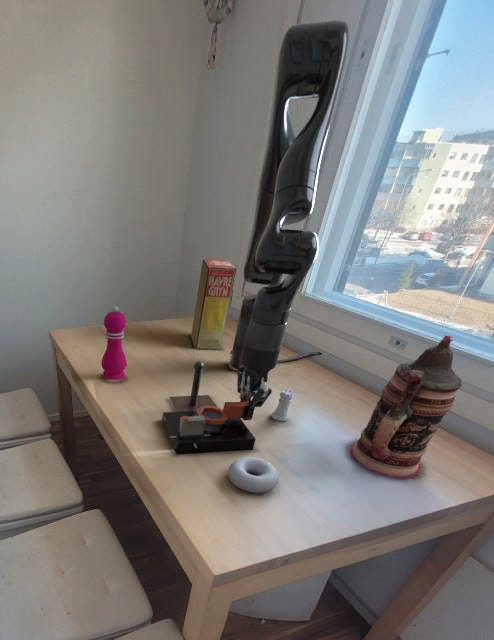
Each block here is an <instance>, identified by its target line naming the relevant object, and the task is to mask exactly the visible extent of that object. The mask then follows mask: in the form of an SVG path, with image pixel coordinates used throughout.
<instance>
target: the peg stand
mask: <svg viewBox="0 0 494 640" xmlns="http://www.w3.org/2000/svg"><path fill="white" fill-rule="evenodd" d="M204 368H205V364H204V363H203V361H200V360H199V361H195V363H194V365H193V369H194V372H193V378H192V385H191V392H190V395H177V396H169V398H170V400H171V402H172V404H173V406H174V407H175V410H176V412H181V411H196V410H197V409H199V408H200V407H201V406H215V407H217V408H218V406H217V405H216V403H215V401H213V399H212V398H211V396H210V395H209V394H200V395H199V391H200V384H201V380H202V379H201V378H202V374H203V370H204Z"/></svg>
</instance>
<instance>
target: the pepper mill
mask: <svg viewBox="0 0 494 640" xmlns="http://www.w3.org/2000/svg"><path fill="white" fill-rule="evenodd" d="M119 309H120V308H119V307H118V306H117V305H113V306H112V307H111V311H110V312H108V313H107V314H106V315H105V316H104V319H103V326H104V328H105V329H106V330H105V338H106V339H107V342H106V349H105V351H104V353H103V356H102V358H101V364H100V365H101V368H102V370H103V371H102V377H103V378H105V379H107V380H112V381H118V380H122V379H123V378H125V372H124V371H125V370H126V368H127V365H128V363H127V357H126V355H125V352H124V350H123V345H122V344H123V342H122V341H123V338H124V336H125V335H124V334H125V331H124V329H126V326H127V318H126V316H125V314H123V313H122V312H120V311H119Z"/></svg>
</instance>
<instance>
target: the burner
mask: <svg viewBox="0 0 494 640" xmlns="http://www.w3.org/2000/svg"><path fill="white" fill-rule="evenodd" d="M202 415H203V416H205V417H208V418H211V419H220V418H221V416H220V415H217V414H212V413H202ZM194 416H196V415H194ZM229 426H230V424H229V421H228V420H227V421H225V422H224V423H223V424H216V425H211V424H207V423H205V425H204V431H205V432H212V433H217V432H223V431H225V430H227V429H228V428H229Z"/></svg>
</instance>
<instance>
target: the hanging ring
mask: <svg viewBox="0 0 494 640" xmlns="http://www.w3.org/2000/svg"><path fill="white" fill-rule="evenodd" d="M245 405H246V402H240V401H225V402H224V404H223V408H220V407H218V406H217V407H215V406H201V407H200V408H199V409H197V410H196V413H195V415H196V416H203V415H202V413H203V412H215V413H217V414H220V415H221V418H220V419H211V418H208V417H205V416H203V417H204V418H205V423H207V424H211V425H216V424H223V423H224V422H225V421H227V419H239V418H240V419H242V416H243V412H244V408H245Z"/></svg>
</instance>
